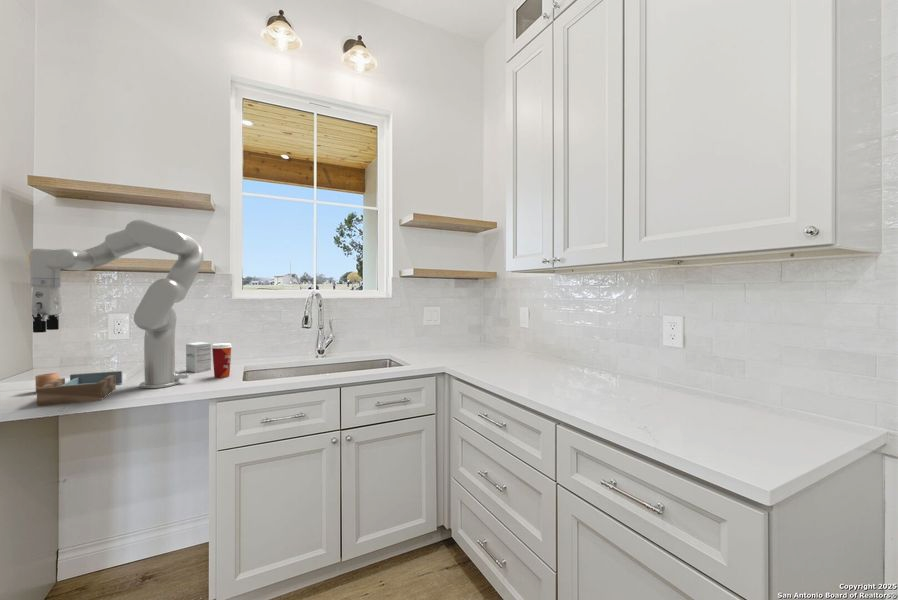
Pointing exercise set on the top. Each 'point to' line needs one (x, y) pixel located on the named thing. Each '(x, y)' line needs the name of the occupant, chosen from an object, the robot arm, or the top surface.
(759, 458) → the top surface
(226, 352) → the paper cup
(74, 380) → the tray
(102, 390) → the brown wooden open box
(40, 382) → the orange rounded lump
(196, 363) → the supplement box
